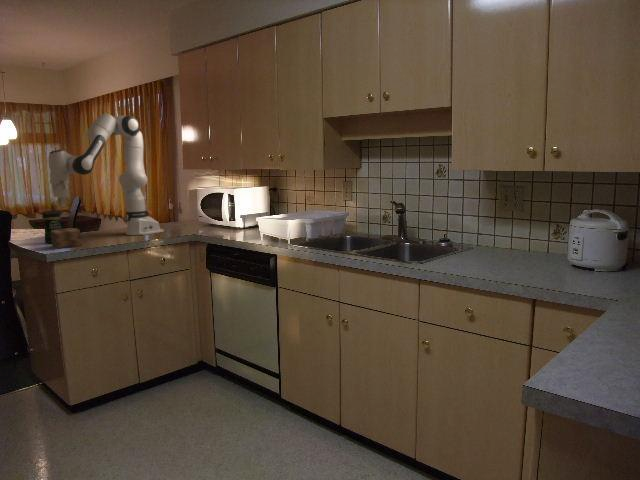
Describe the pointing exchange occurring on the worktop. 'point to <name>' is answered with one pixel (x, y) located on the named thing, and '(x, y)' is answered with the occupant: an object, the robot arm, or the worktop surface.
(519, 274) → the worktop surface
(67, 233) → the tip box
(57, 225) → the coffee jar
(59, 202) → the token
